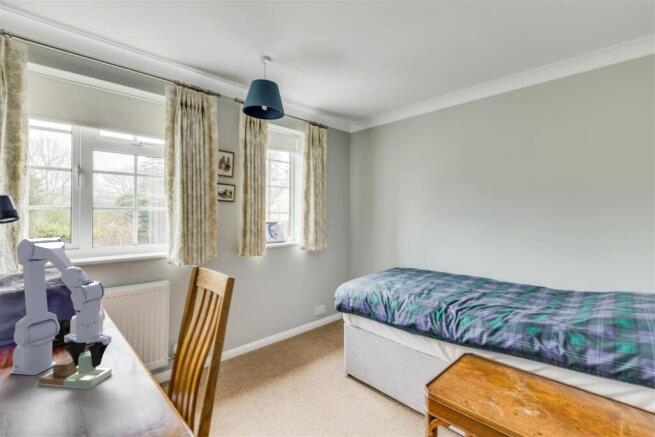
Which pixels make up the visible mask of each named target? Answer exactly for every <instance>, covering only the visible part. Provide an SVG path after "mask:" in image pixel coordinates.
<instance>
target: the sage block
mask: <svg viewBox="0 0 655 437" xmlns="http://www.w3.org/2000/svg"><path fill="white" fill-rule="evenodd" d="M96 368H97V367H95V368H93V366H92V357H91V353H90V351H89V350H88V351H84V352H83V353H81V354H80V356H79V358H78V374H83V373H88V372H92V371H95V369H96Z"/></svg>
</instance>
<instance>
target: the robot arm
mask: <svg viewBox="0 0 655 437" xmlns="http://www.w3.org/2000/svg"><path fill="white" fill-rule="evenodd" d="M65 247H66V245H65V243H64V242H63V240H62V238H60V237H57V236H56V237H55V236H54V237H46V238H32V239H31V238H24V239H22V240H21V241H20V242H19V243H18V244H17V246H16V253H17V262H18V263H17V265H21V266H22V274H23V287H24V299H25V313H26V314H25V315H24V316H23V317H22V318H20V320H18V321H17V322H16V323H15V327H14V328H15V329H14V332H13V341H14V343H15V344H16V345H17V346H16V347H15V349H14V350H13V353H12V370H11V371H9V374H12V375H13V374H14V375H16V374H17V375H25V376H26V375H28V376H37V375H39V374H41V373H42V372H44V371H46V370H49V369H51V368H53V365H54V364H56V363H57V362H58V361H54V360H53V348H52V341H53V340H56V339H55V336H56V335H57V334H58V332H59V329H60V325H59V323H58V317H57V314H55V313H53V312H50V311H49V310H48V299H47V298H48V297H47V285H46V274H45V273H46V272H45V271H46V270H45V266H46V265H47V263H48V262H49V263H50V264H51V265H53V267H55V269H57V270H58V271H59V272H60V273H61V274H60V276H59V277H60V280H61V281H62V282H63V284H64V285H65V286H66V287H67V289H68V290H69V291H70V292H71V294H70V299H71V301H72V303H73V309H74V310H75V315H76V334H70V333H69V334H67V335H66V336H64V342H69V341H70V343H69V344H68V345H65V347H64V349H65V350H66V351H67V352H68V353H69V355H70V356H71V358H72V359H73V362H74V365H75V366H78V358H79V356H80V354H81V353H83V352H85V349H86V346H87V344H86V343H89V344H91V345H89V346H88V347H87V349H88V351H90V353H91V357H92V366H93V368H95V367H96V368H98V367H99V366H100V365H101V364H102V360H103V356H104V354H105V352H106V349H107V348H108V346H109V344H111V343H112V336H111V335H106V334H104V333H103V334H101V331H99V312H100V300H101V299H102V298H103V297H104V295H105V288H104V285H103V284H102V282H100V281H99V280H98V281H97V280H96V279H91V278H90V276H89V275H88V274H87V273H86V272H85V271H84V269H83V268H81V267H80V266H75V265H74V264H73V262H72V261H71V259H70V258H69V257H68V255H67V253H66V252H65V250H66V248H65Z"/></svg>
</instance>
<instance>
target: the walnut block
mask: <svg viewBox="0 0 655 437" xmlns="http://www.w3.org/2000/svg"><path fill="white" fill-rule="evenodd" d="M56 362H57V363H56V364H54V365H53V367H52V372H53V378H67V377H69V376H71V375H73V374H75V373H76V372H77V366H75V365H74V362H73V359H72V357H71V358H62V359H61V360H59V361H56Z"/></svg>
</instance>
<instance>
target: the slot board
mask: <svg viewBox="0 0 655 437" xmlns="http://www.w3.org/2000/svg"><path fill="white" fill-rule="evenodd" d="M112 372H113V370H112V368H106V367H96V369H95V371H92V372H88V373H83V374H78V366H77V372H76V373H75V374H73V375H71V376H69V377H67V378H53V371H51V372H49V373H46V374H45V375H43V376H40V377H38V385H39V386H50V387H51V386H52V387H61V388H62V387H63V388H74V389H85V390H87V389H88V390H89V389H91V388H92V387H94V386H96V385H97V384H98V383H101V382H102V381H104V380H105V379H107V378H108V377H110V376H112Z"/></svg>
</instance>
